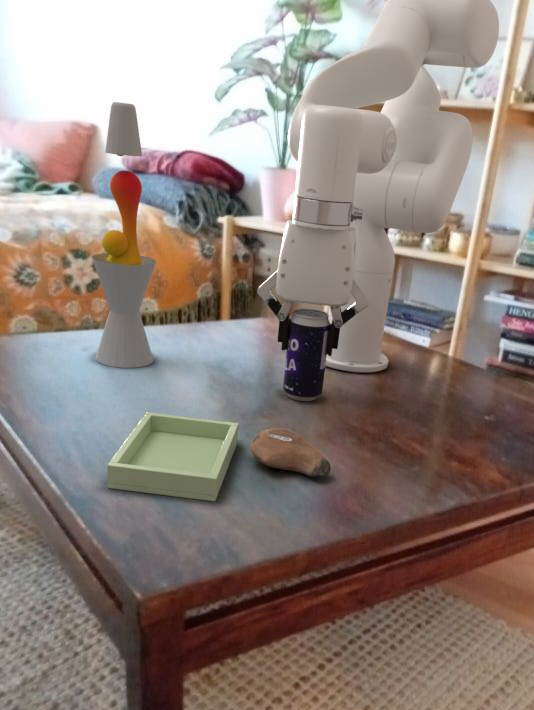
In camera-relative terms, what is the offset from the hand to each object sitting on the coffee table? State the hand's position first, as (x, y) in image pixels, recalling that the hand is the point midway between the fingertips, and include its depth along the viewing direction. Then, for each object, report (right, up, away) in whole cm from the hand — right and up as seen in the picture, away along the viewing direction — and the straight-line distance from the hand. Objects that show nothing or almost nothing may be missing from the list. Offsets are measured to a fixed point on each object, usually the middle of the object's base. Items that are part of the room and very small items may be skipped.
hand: (307, 349), depth 98 cm
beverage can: (-1, -6, +3) cm, 7 cm away
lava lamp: (-28, 0, +10) cm, 30 cm away
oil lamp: (-3, -17, -19) cm, 25 cm away
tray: (-15, -16, -21) cm, 30 cm away
